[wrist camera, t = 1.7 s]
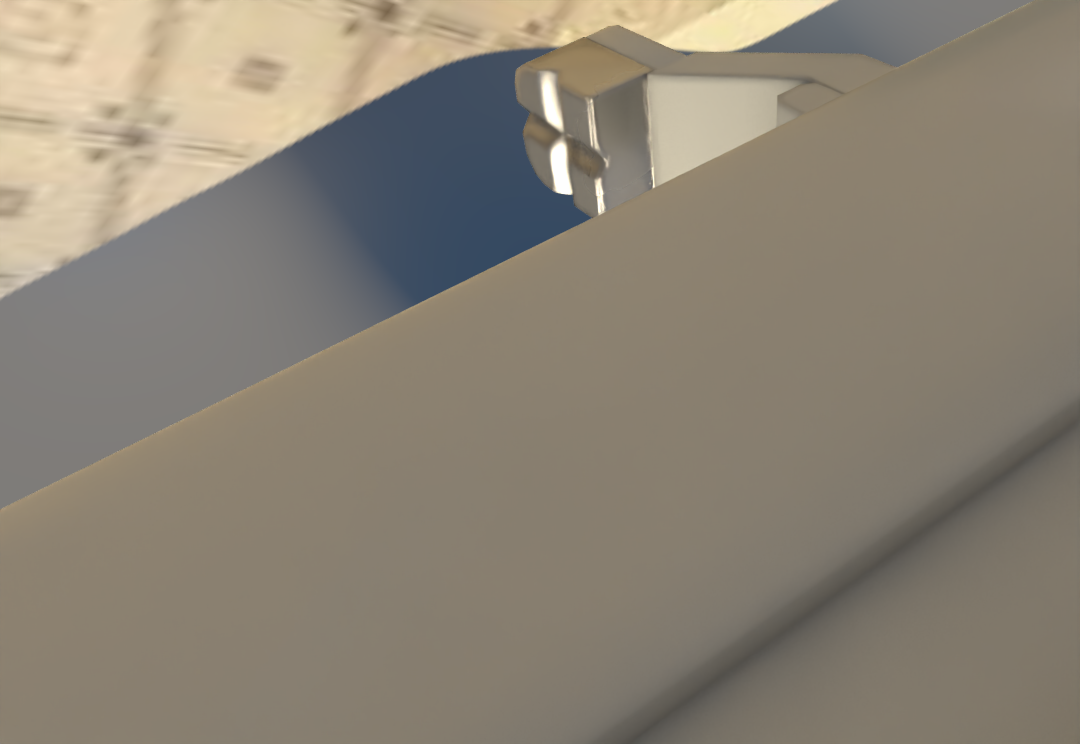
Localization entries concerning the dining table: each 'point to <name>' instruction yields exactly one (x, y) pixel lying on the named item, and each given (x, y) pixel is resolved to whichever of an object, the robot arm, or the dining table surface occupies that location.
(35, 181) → the dining table surface
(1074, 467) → the robot arm
